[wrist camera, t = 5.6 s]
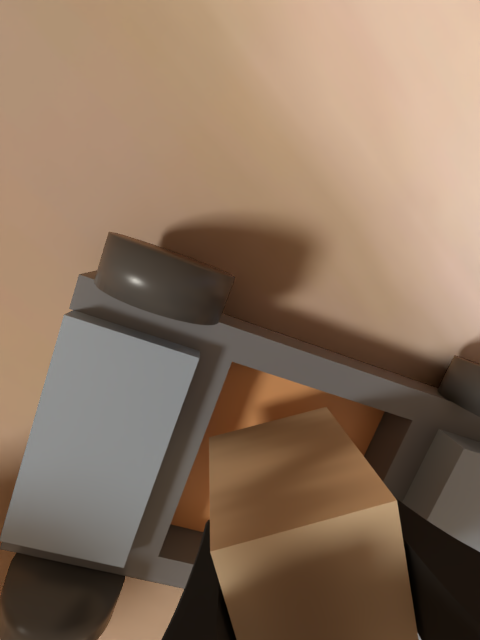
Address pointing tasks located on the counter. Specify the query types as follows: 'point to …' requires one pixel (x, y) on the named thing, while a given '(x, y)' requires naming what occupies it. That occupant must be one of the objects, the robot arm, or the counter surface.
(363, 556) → the engine block
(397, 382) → the car chassis
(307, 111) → the counter surface
